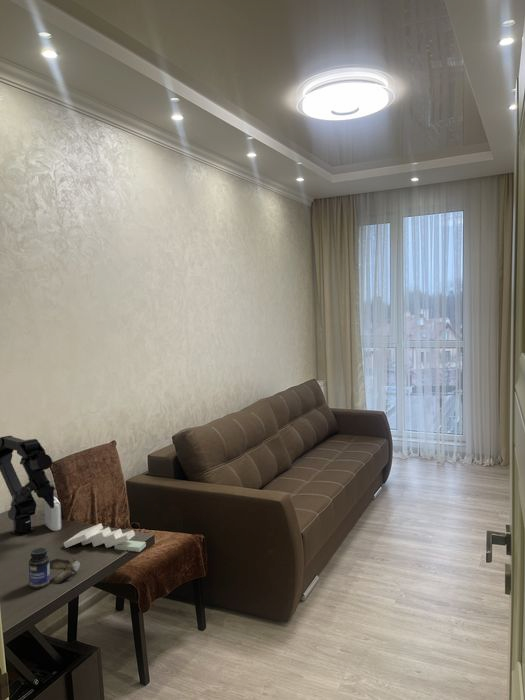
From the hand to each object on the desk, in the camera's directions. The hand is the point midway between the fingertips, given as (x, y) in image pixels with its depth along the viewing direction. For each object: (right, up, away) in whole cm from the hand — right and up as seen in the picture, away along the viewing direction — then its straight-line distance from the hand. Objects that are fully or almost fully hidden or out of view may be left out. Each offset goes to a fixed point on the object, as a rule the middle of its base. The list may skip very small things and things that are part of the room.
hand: (52, 507), depth 205 cm
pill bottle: (+10, -14, -36) cm, 40 cm away
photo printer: (-4, -11, +11) cm, 16 cm away
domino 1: (+9, -11, -4) cm, 15 cm away
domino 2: (+14, -11, -5) cm, 19 cm away
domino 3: (+19, -11, -6) cm, 22 cm away
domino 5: (+27, -11, -8) cm, 31 cm away
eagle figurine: (+16, -14, -31) cm, 38 cm away
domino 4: (+24, -11, -7) cm, 27 cm away
